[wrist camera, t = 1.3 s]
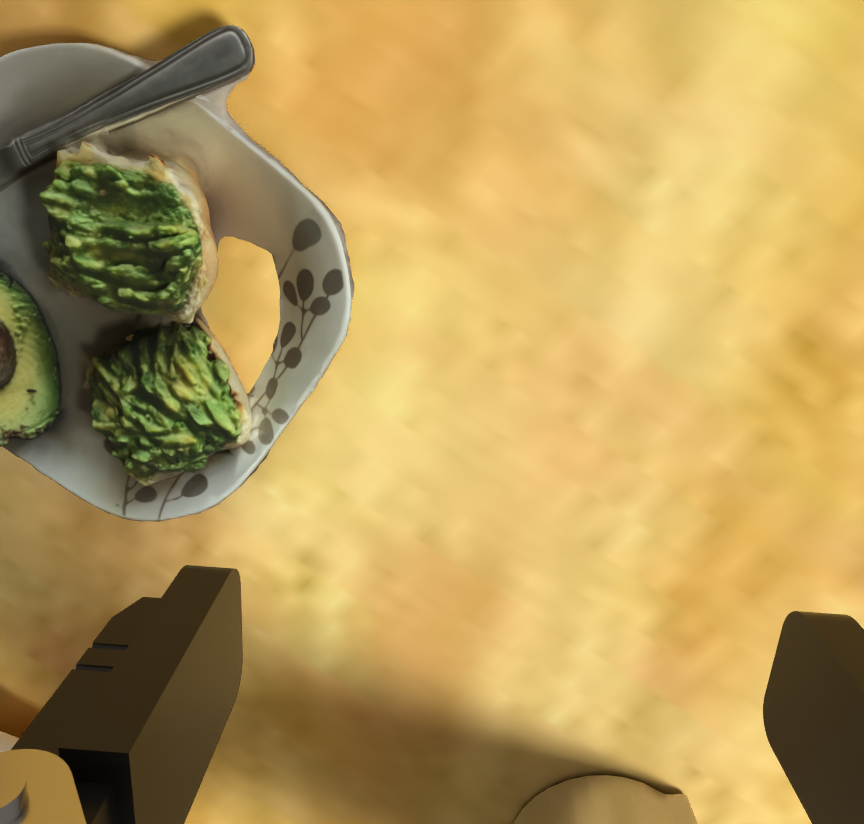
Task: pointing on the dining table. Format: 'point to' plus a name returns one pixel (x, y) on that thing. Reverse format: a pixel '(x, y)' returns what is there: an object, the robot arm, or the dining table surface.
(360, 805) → the dining table surface
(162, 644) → the robot arm
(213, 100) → the salad plate
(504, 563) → the dining table surface
